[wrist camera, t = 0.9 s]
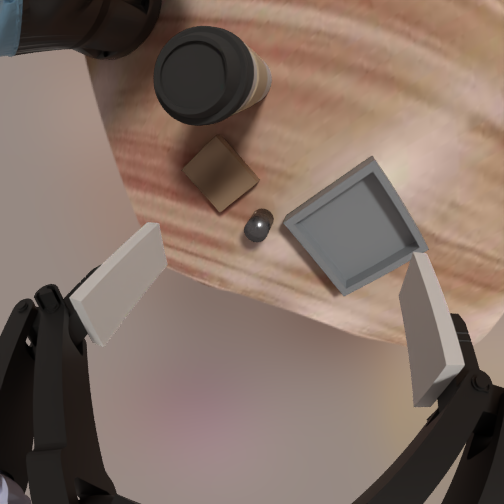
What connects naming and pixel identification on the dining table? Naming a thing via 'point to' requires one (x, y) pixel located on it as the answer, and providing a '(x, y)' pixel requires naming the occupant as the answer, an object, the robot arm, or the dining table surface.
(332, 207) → the tray
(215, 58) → the coffee cup
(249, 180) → the board
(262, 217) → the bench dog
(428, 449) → the robot arm
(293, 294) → the dining table surface
